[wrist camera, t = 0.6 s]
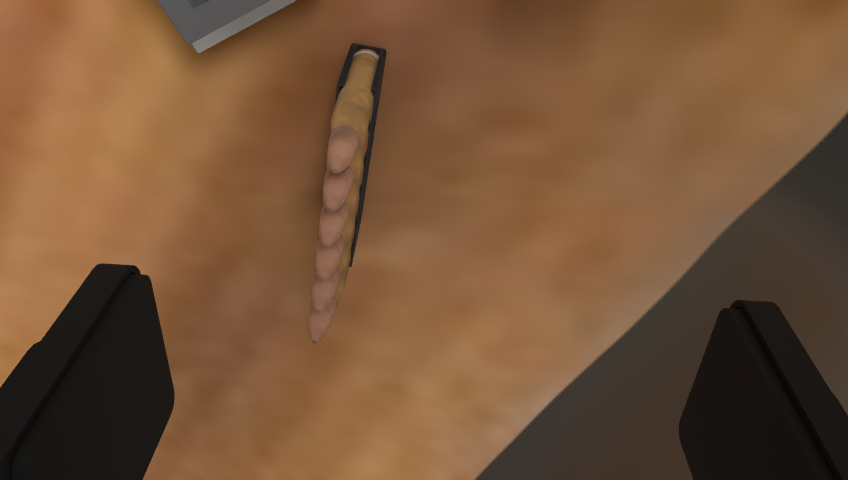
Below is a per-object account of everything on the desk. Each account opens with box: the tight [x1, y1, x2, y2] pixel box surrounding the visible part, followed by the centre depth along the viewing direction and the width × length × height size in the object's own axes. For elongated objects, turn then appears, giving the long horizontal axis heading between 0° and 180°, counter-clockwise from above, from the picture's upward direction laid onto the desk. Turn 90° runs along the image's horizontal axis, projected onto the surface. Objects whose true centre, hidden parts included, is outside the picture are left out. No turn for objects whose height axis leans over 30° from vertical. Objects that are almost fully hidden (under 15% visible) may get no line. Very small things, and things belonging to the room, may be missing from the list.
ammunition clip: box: [308, 43, 386, 343], centre depth 34 cm, size 11×2×12 cm, turn 170°
